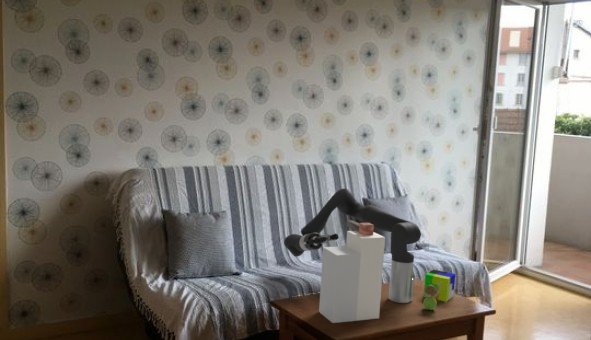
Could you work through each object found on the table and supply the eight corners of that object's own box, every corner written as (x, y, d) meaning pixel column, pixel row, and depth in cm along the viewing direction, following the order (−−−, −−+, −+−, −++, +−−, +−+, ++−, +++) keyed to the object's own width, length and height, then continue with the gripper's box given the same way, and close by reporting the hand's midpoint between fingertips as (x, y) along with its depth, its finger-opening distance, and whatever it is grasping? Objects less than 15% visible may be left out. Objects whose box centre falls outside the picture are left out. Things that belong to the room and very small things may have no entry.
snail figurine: (438, 313, 249) (441, 284, 247) (422, 311, 250) (425, 282, 249) (438, 308, 254) (441, 280, 253) (422, 306, 255) (425, 278, 254)
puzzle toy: (453, 296, 272) (455, 274, 271) (445, 301, 264) (447, 279, 262) (431, 291, 277) (433, 269, 276) (423, 296, 269) (425, 274, 268)
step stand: (363, 307, 250) (369, 230, 246) (379, 318, 239) (385, 237, 235) (319, 312, 242) (324, 232, 238) (332, 323, 231) (338, 239, 227)
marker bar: (353, 226, 252) (353, 216, 252) (373, 235, 238) (373, 224, 237) (344, 226, 251) (345, 216, 250) (363, 235, 236) (364, 225, 236)
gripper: (326, 247, 278) (344, 243, 263) (298, 253, 271) (316, 250, 257) (322, 230, 278) (341, 226, 264) (295, 236, 272) (312, 232, 258)
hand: (328, 238), depth 261 cm, fingers open, 8 cm apart
